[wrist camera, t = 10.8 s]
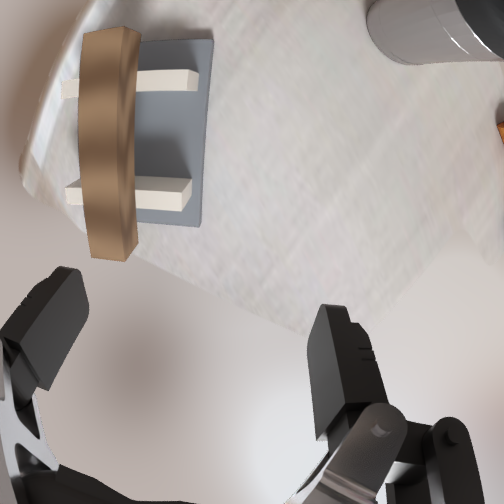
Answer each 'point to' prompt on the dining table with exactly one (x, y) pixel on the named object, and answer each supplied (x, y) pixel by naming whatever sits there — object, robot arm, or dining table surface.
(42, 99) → the dining table surface
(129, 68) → the brown wooden bar
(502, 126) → the kendama
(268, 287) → the dining table surface
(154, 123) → the ridge stand
